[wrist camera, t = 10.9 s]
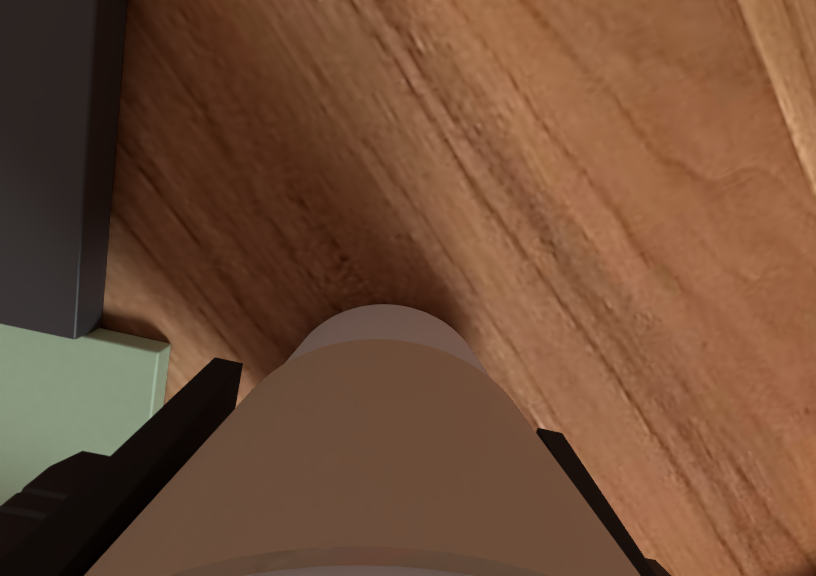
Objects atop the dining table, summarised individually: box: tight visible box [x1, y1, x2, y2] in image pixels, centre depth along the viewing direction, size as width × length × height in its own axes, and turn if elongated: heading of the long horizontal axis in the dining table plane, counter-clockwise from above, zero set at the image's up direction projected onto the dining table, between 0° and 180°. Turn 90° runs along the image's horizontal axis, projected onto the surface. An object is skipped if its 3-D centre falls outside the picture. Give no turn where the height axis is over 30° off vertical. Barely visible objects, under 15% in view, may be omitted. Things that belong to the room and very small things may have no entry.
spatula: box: [0, 0, 171, 506], centre depth 12 cm, size 22×7×1 cm, turn 166°
